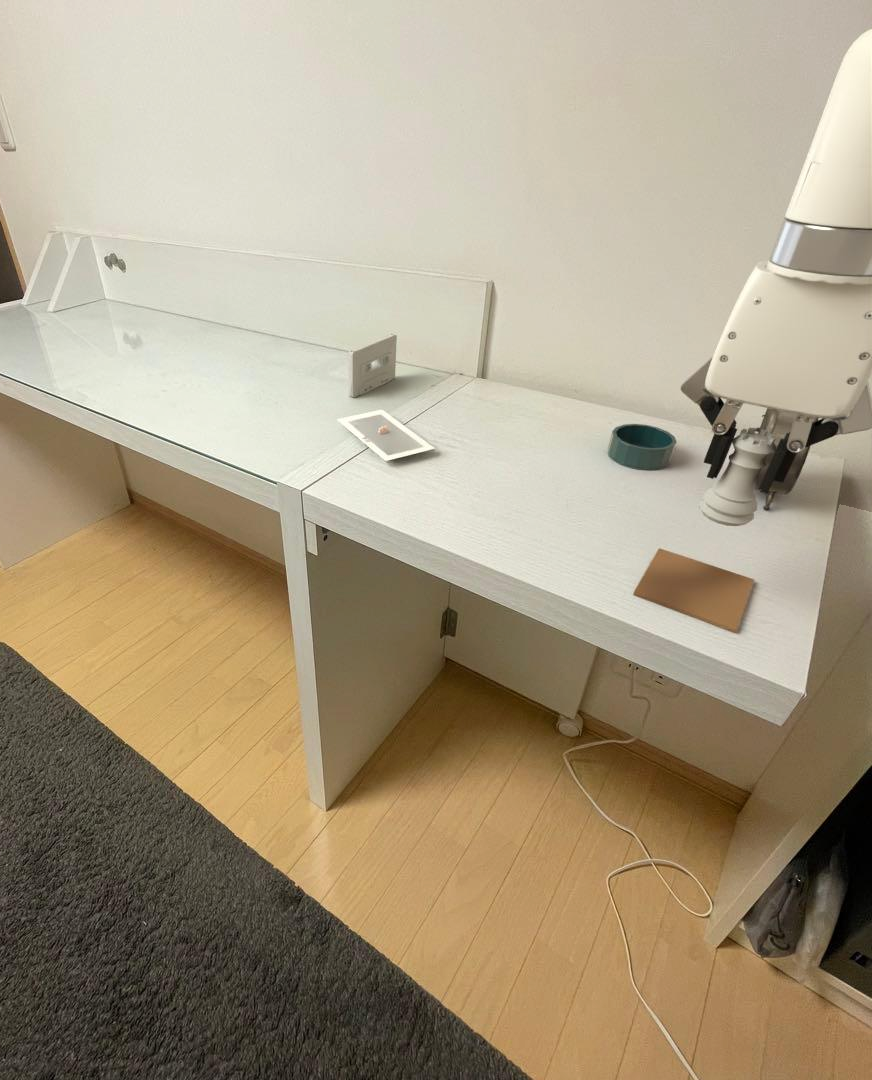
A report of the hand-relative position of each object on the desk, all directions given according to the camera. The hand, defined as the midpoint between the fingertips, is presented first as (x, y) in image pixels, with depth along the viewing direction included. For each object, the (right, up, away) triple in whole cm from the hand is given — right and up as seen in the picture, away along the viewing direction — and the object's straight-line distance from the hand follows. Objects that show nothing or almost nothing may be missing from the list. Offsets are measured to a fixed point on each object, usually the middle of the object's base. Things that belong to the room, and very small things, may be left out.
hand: (740, 477), depth 53 cm
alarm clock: (+17, 0, +22) cm, 28 cm away
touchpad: (-28, +9, +36) cm, 46 cm away
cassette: (-29, +21, +52) cm, 63 cm away
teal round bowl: (+6, +6, +30) cm, 31 cm away
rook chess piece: (0, -3, +2) cm, 4 cm away
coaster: (0, -10, +7) cm, 13 cm away
